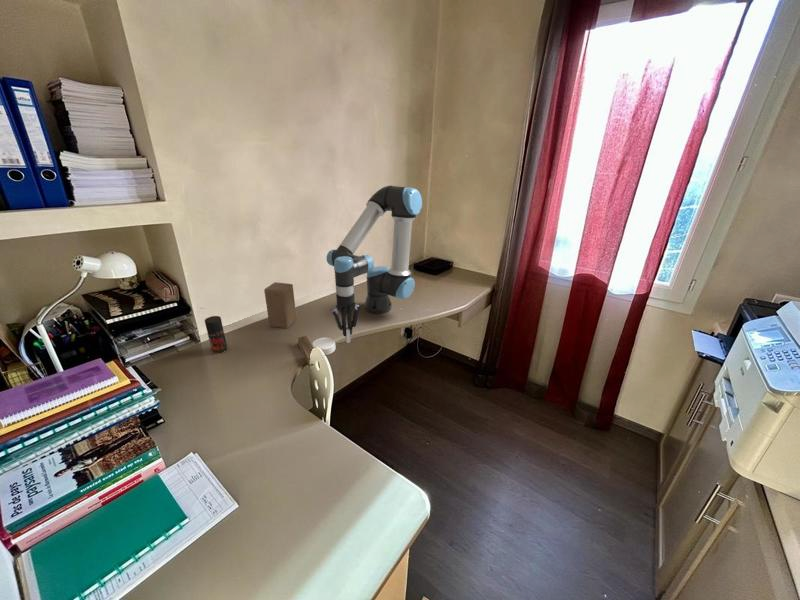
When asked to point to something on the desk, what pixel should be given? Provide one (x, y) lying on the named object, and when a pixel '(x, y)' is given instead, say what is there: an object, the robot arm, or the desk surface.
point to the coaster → (325, 345)
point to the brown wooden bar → (305, 347)
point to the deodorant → (216, 334)
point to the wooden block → (280, 304)
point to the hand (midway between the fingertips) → (347, 341)
